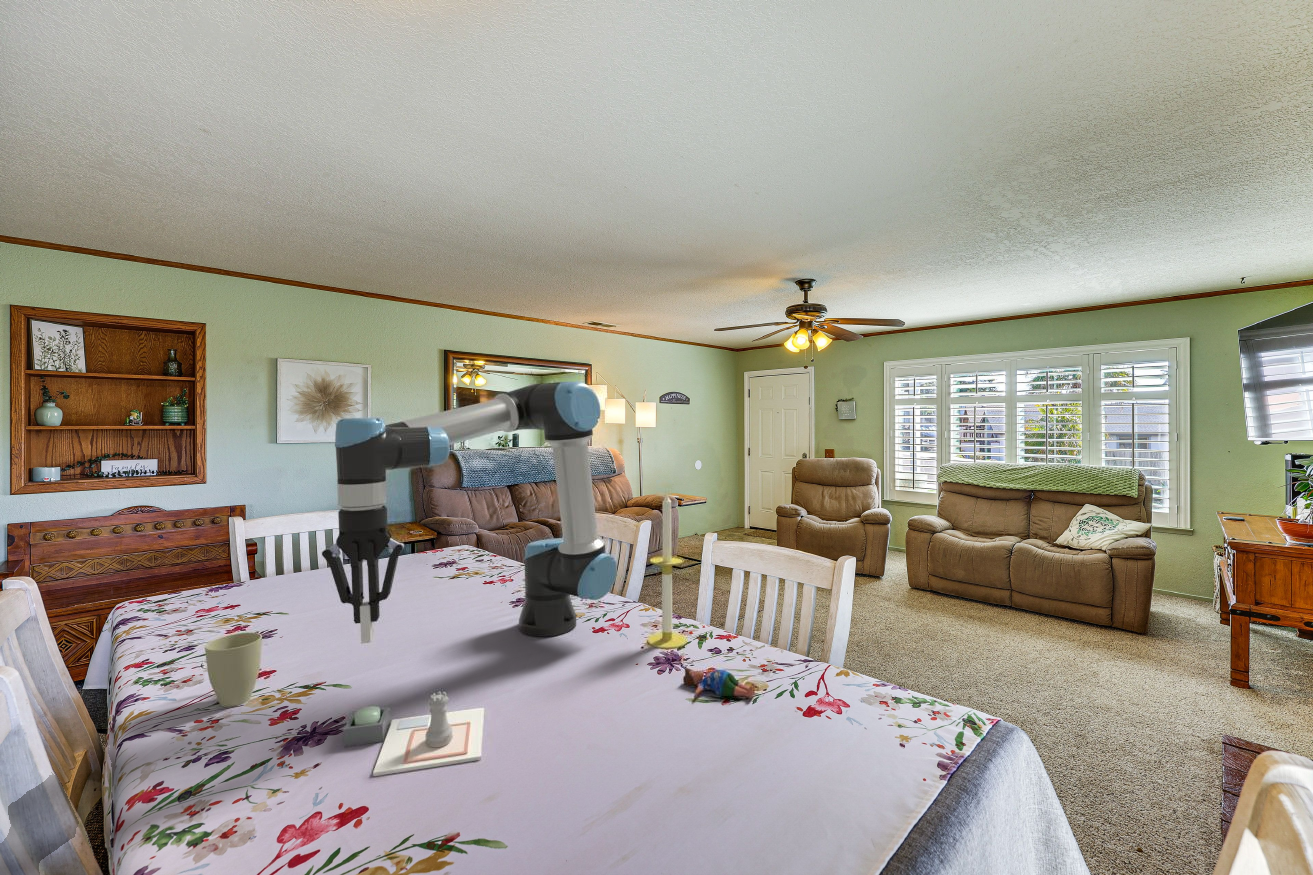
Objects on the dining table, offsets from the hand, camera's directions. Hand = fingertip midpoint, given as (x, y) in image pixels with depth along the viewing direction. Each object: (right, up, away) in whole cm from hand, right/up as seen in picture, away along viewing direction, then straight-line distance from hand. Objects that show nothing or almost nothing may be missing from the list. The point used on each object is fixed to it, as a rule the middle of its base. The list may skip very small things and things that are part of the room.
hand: (367, 639), depth 99 cm
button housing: (0, -17, 0) cm, 17 cm away
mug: (-33, -17, +13) cm, 39 cm away
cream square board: (+12, -17, -1) cm, 21 cm away
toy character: (+63, -17, +16) cm, 67 cm away
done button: (0, -16, 0) cm, 16 cm away
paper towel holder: (+53, -15, +42) cm, 69 cm away
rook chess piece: (+14, -16, -3) cm, 22 cm away
